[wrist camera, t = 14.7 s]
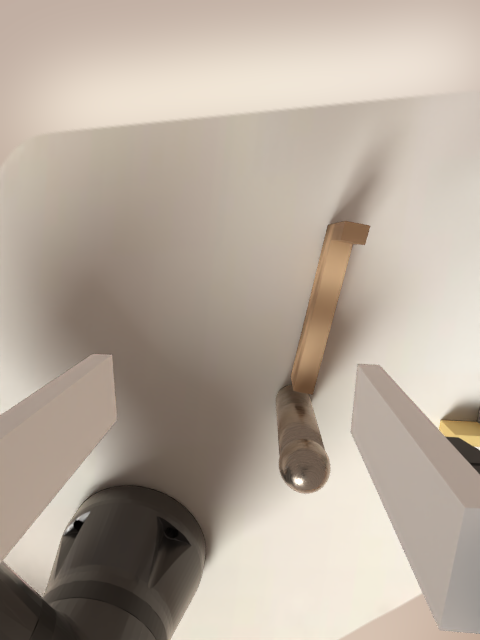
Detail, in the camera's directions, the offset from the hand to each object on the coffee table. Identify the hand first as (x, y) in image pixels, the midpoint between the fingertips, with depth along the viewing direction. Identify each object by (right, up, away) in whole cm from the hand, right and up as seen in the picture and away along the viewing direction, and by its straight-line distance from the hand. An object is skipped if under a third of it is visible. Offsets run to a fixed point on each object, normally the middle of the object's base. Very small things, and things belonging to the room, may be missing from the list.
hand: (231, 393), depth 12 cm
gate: (+7, +4, +16) cm, 18 cm away
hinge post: (+5, -5, +19) cm, 20 cm away
